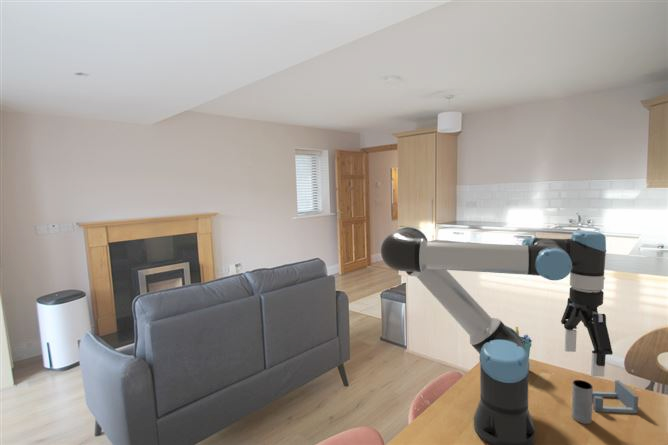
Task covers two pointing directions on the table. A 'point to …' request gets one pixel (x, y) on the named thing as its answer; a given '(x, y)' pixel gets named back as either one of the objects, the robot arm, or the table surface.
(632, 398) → the endcap rail
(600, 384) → the table surface
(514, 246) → the robot arm
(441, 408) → the table surface
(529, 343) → the cup
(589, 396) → the grey tube
